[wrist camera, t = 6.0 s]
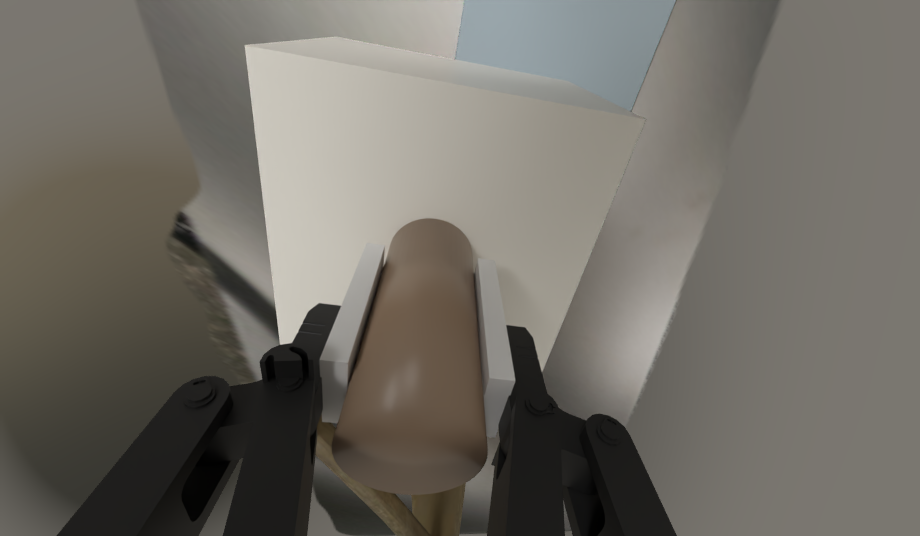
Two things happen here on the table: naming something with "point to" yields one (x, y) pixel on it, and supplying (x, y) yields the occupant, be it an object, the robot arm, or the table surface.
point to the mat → (568, 40)
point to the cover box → (426, 227)
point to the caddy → (433, 517)
